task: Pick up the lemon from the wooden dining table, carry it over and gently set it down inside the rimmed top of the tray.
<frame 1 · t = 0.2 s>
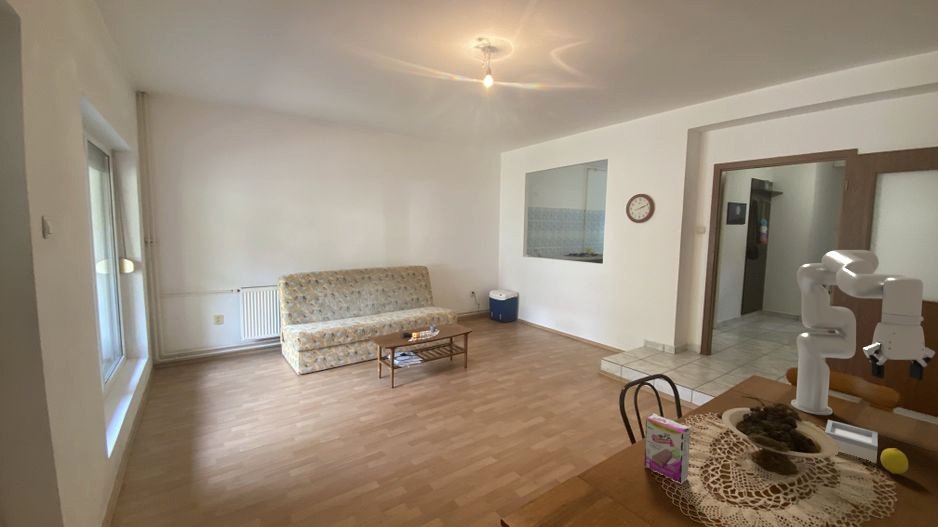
hand: (896, 377, 111), 30 cm above the table, tool pointing down, fingers open, 9 cm apart
tray: (850, 448, 127), on the table
candy bar box: (665, 474, 115), on the table
lemon: (893, 474, 114), on the table
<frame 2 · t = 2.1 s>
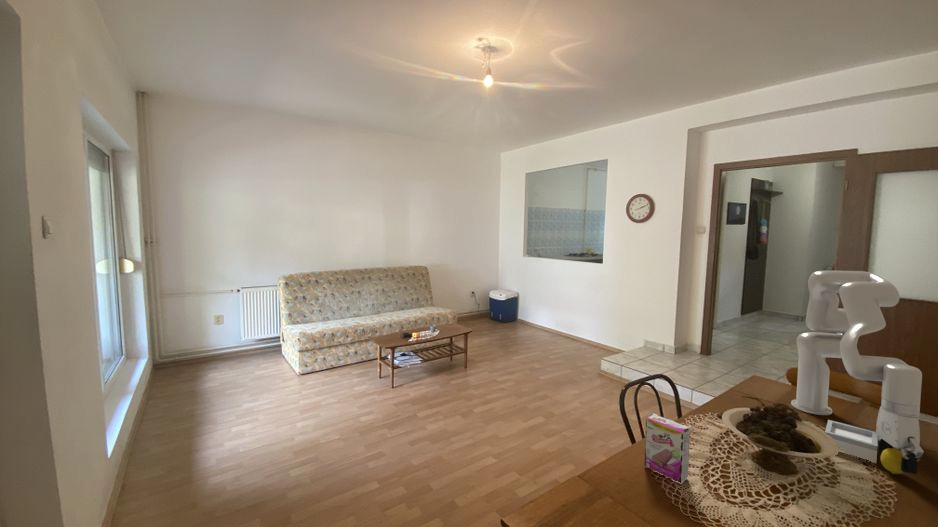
hand: (896, 462, 113), 4 cm above the table, tool pointing down, fingers open, 9 cm apart
nothing on the table moved.
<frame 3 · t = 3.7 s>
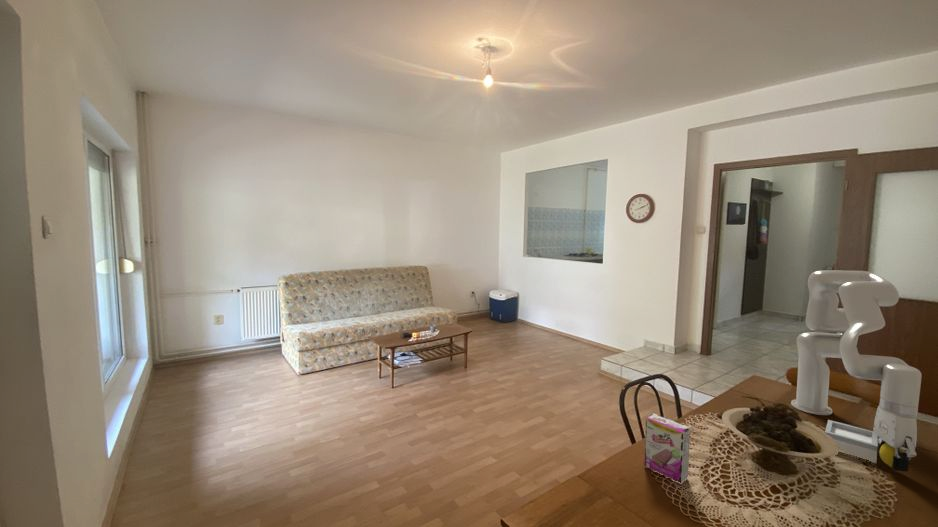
hand: (892, 463, 114), 3 cm above the table, tool pointing down, fingers closed on lemon, 5 cm apart
lemon: (891, 468, 115), point 1 cm above the table, touching gripper
everything else where it was.
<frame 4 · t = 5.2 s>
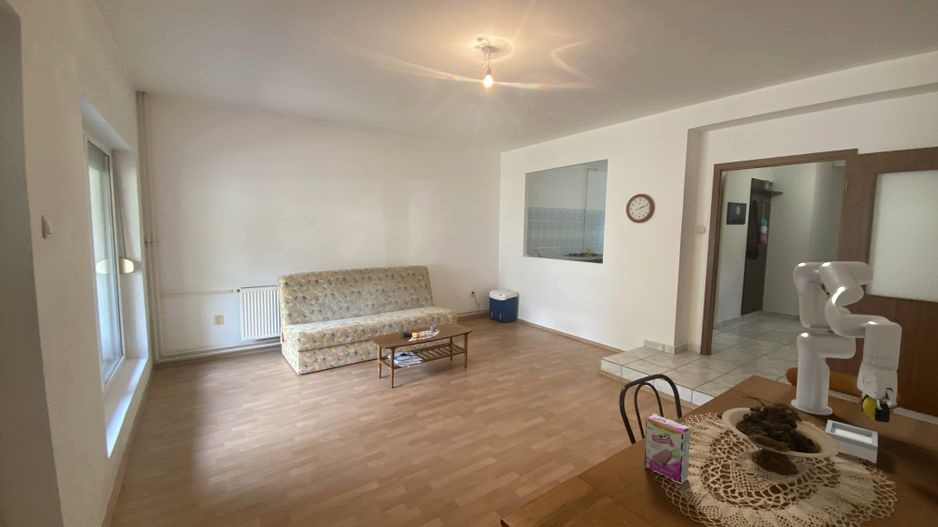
hand: (874, 415, 119), 15 cm above the table, tool pointing down, fingers closed on lemon, 5 cm apart
lemon: (874, 420, 120), point 13 cm above the table, touching gripper
everything else where it was.
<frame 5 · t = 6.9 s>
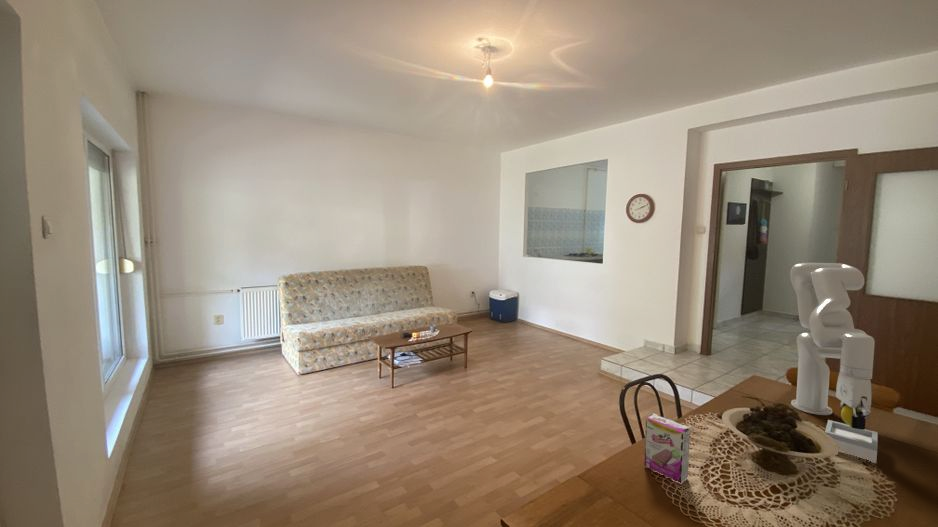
hand: (852, 423, 127), 9 cm above the table, tool pointing down, fingers closed on lemon, 5 cm apart
lemon: (851, 427, 127), point 7 cm above the table, touching gripper
everything else where it was.
when the fingers open (7 cm above the table, at t = 7.7 s): lemon drops 2 cm, resting on tray.
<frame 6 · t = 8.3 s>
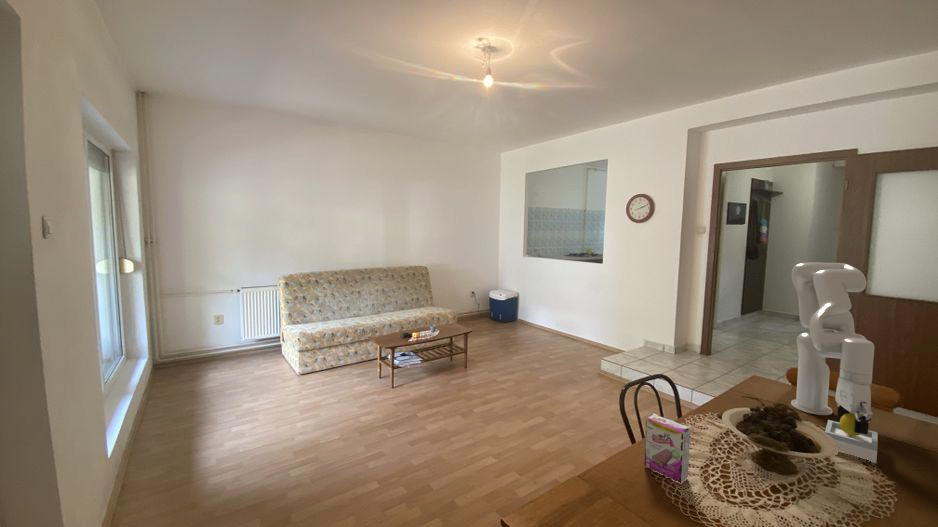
hand: (851, 425, 127), 8 cm above the table, tool pointing down, fingers open, 9 cm apart
lemon: (850, 436, 127), point 4 cm above the table, touching tray
everything else where it was.
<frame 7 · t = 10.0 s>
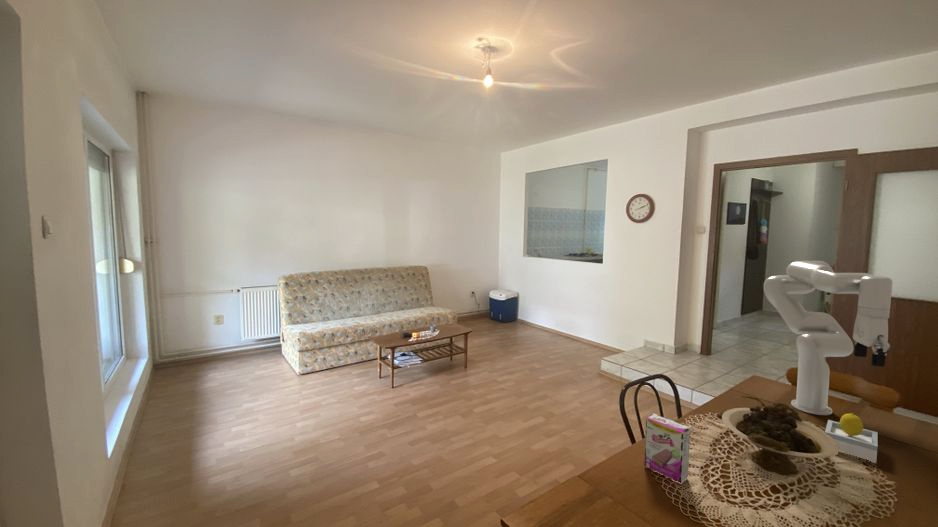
hand: (868, 361, 131), 28 cm above the table, tool pointing down, fingers open, 9 cm apart
nothing on the table moved.
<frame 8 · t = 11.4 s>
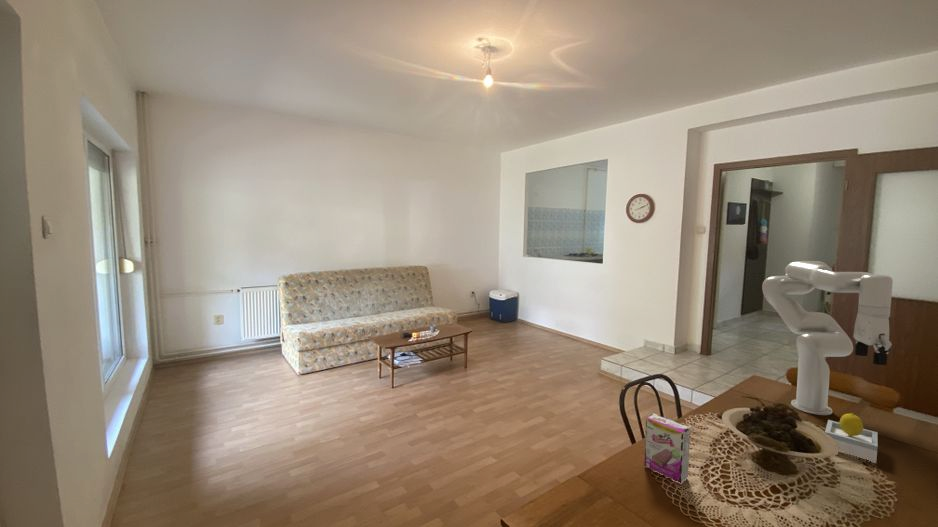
hand: (869, 359, 131), 28 cm above the table, tool pointing down, fingers open, 9 cm apart
nothing on the table moved.
at the end: lemon 0.2 cm off-centre on the tray, point 3.8 cm above the tray's base; the gripper is holding nothing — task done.
